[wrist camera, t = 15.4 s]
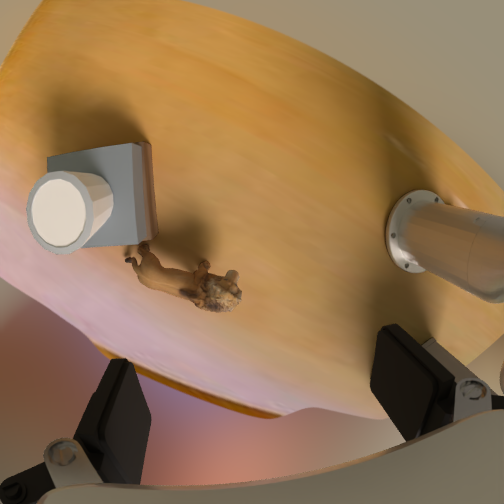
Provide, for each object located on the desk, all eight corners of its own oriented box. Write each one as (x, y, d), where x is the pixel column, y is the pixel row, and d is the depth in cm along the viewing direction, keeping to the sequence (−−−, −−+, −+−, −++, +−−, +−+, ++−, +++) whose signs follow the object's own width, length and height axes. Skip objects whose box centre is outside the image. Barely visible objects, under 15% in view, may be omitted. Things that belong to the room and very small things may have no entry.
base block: (151, 145, 34) (143, 141, 30) (159, 232, 37) (151, 239, 33) (74, 158, 33) (58, 157, 29) (82, 240, 36) (68, 248, 32)
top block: (141, 146, 30) (131, 143, 26) (146, 236, 32) (138, 244, 29) (63, 158, 29) (47, 157, 25) (70, 241, 31) (55, 249, 28)
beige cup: (54, 178, 26) (17, 185, 19) (111, 158, 26) (82, 159, 19) (70, 241, 28) (39, 263, 21) (127, 225, 28) (103, 244, 21)
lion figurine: (241, 255, 39) (248, 279, 30) (234, 294, 40) (240, 327, 31) (127, 240, 36) (103, 259, 28) (125, 279, 38) (103, 307, 29)
